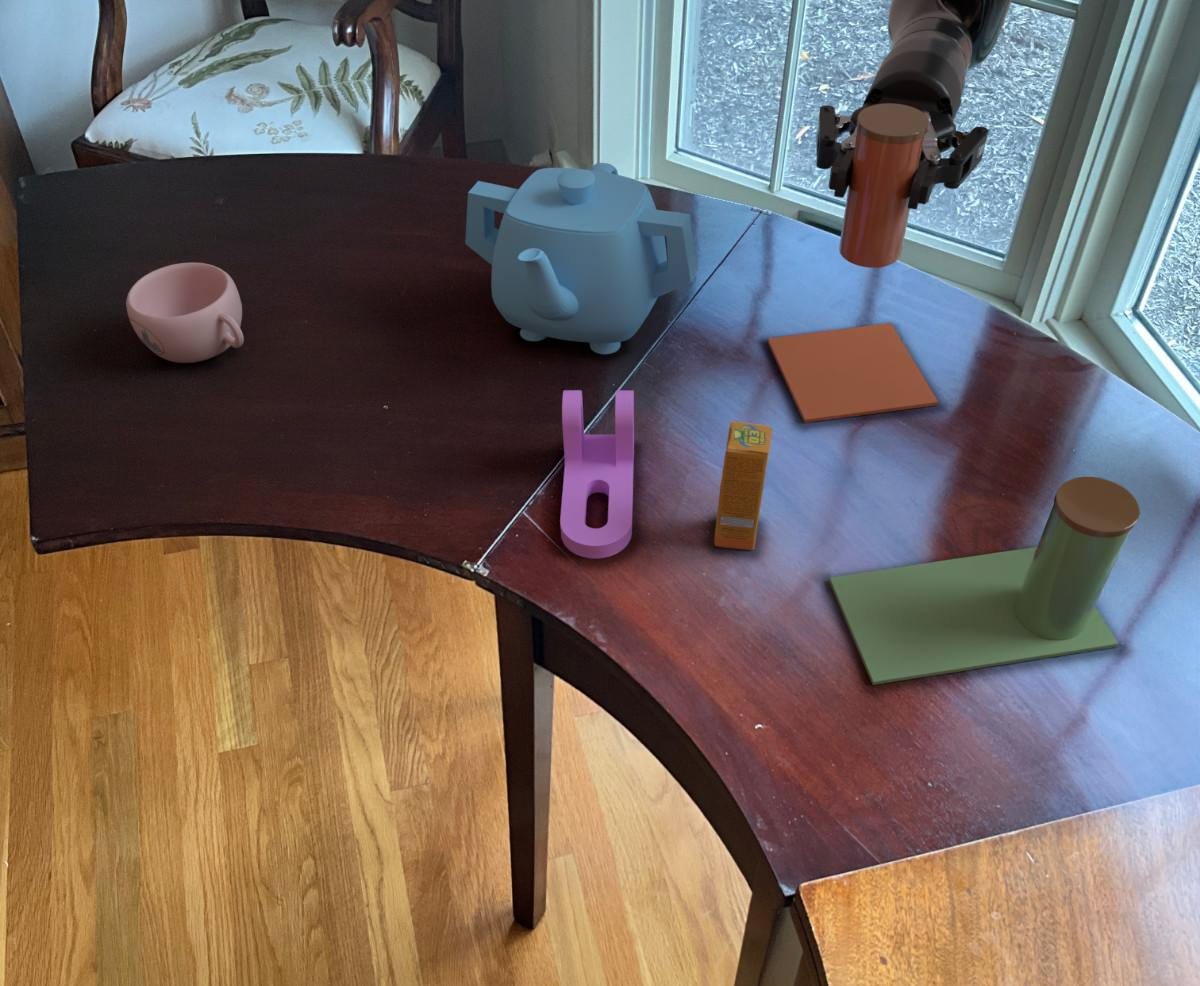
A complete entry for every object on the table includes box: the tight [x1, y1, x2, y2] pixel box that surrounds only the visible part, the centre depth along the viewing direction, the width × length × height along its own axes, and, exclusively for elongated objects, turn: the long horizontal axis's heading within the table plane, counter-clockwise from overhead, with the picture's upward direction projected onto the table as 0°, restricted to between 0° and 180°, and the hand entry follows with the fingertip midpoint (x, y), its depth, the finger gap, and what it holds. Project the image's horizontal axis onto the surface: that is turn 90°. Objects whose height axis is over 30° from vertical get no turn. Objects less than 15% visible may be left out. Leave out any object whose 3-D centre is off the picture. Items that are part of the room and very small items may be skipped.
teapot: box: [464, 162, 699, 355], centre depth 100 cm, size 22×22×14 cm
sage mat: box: [828, 546, 1119, 686], centre depth 81 cm, size 18×10×1 cm, turn 100°
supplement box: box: [713, 421, 773, 551], centre depth 83 cm, size 3×3×10 cm
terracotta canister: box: [838, 103, 929, 269], centre depth 87 cm, size 5×5×11 cm
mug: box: [125, 262, 245, 364], centre depth 103 cm, size 12×10×6 cm
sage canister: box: [1015, 476, 1141, 640], centre depth 76 cm, size 5×5×11 cm
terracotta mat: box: [766, 322, 939, 424], centre depth 100 cm, size 12×12×1 cm
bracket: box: [559, 389, 635, 559], centre depth 87 cm, size 13×6×7 cm, turn 178°
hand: (877, 191), depth 84 cm, fingers closed on terracotta canister, 5 cm apart
